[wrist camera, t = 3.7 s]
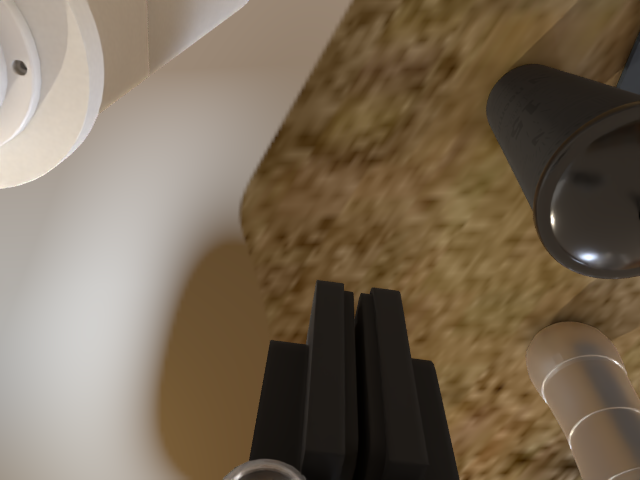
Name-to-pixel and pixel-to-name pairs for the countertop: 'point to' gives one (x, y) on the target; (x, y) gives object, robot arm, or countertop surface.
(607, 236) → the drinking cup
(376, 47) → the countertop surface
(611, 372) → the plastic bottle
